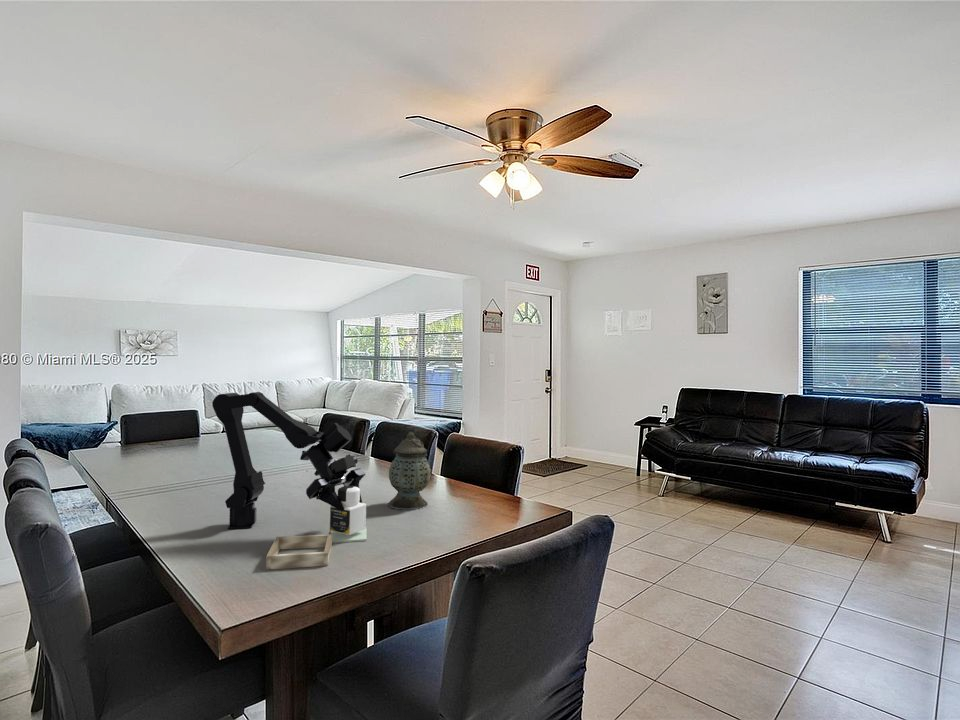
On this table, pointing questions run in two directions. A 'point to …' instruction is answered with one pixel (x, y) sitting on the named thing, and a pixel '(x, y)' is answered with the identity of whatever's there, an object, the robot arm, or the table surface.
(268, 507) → the table surface
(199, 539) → the table surface
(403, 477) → the lantern
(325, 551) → the birch box
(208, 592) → the table surface
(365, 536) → the sage mat
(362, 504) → the medicine bottle
